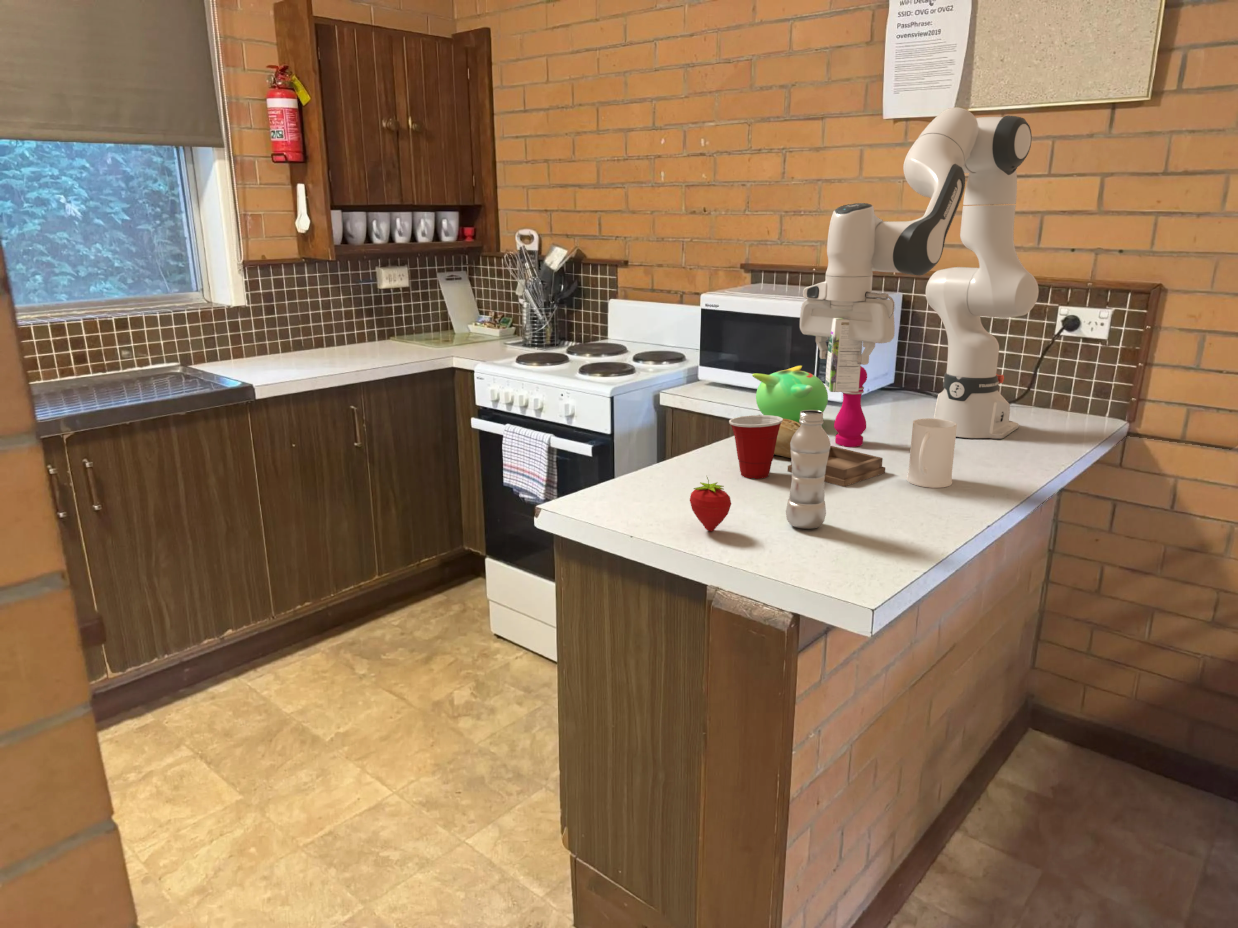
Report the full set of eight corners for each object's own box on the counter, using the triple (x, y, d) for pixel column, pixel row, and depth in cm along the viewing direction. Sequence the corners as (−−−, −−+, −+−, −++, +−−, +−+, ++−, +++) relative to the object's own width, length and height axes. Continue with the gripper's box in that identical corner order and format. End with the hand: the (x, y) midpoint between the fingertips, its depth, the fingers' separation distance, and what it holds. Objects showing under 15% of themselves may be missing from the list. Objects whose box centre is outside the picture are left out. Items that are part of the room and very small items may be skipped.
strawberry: (715, 541, 136) (717, 483, 133) (681, 530, 141) (681, 474, 138) (738, 532, 140) (740, 475, 137) (703, 521, 145) (704, 466, 142)
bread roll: (756, 445, 194) (758, 411, 192) (818, 454, 186) (820, 419, 184) (738, 454, 186) (739, 420, 184) (801, 464, 178) (803, 428, 176)
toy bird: (834, 421, 215) (838, 365, 210) (811, 435, 201) (815, 375, 197) (769, 414, 224) (771, 359, 220) (743, 427, 210) (745, 369, 206)
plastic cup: (748, 464, 179) (750, 409, 175) (791, 474, 171) (793, 417, 168) (716, 475, 171) (717, 418, 168) (759, 486, 164) (761, 427, 160)
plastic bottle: (780, 520, 145) (785, 408, 139) (818, 519, 145) (825, 407, 140) (791, 534, 139) (796, 417, 133) (830, 532, 139) (838, 416, 134)
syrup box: (824, 387, 170) (828, 315, 166) (853, 386, 170) (858, 315, 166) (830, 392, 165) (834, 318, 161) (860, 392, 165) (865, 318, 160)
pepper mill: (866, 448, 190) (872, 361, 184) (833, 446, 191) (839, 360, 185) (863, 440, 196) (869, 356, 191) (832, 439, 198) (837, 355, 192)
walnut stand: (829, 458, 182) (830, 444, 181) (884, 472, 171) (886, 458, 170) (787, 471, 173) (788, 456, 172) (843, 486, 163) (844, 471, 162)
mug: (936, 495, 157) (942, 433, 154) (892, 486, 163) (897, 426, 159) (958, 480, 166) (964, 422, 162) (916, 472, 171) (921, 415, 168)
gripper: (904, 292, 156) (898, 366, 160) (816, 287, 171) (812, 354, 175) (884, 295, 152) (879, 369, 156) (796, 289, 167) (793, 357, 171)
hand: (843, 361), depth 166 cm, fingers closed on syrup box, 8 cm apart
